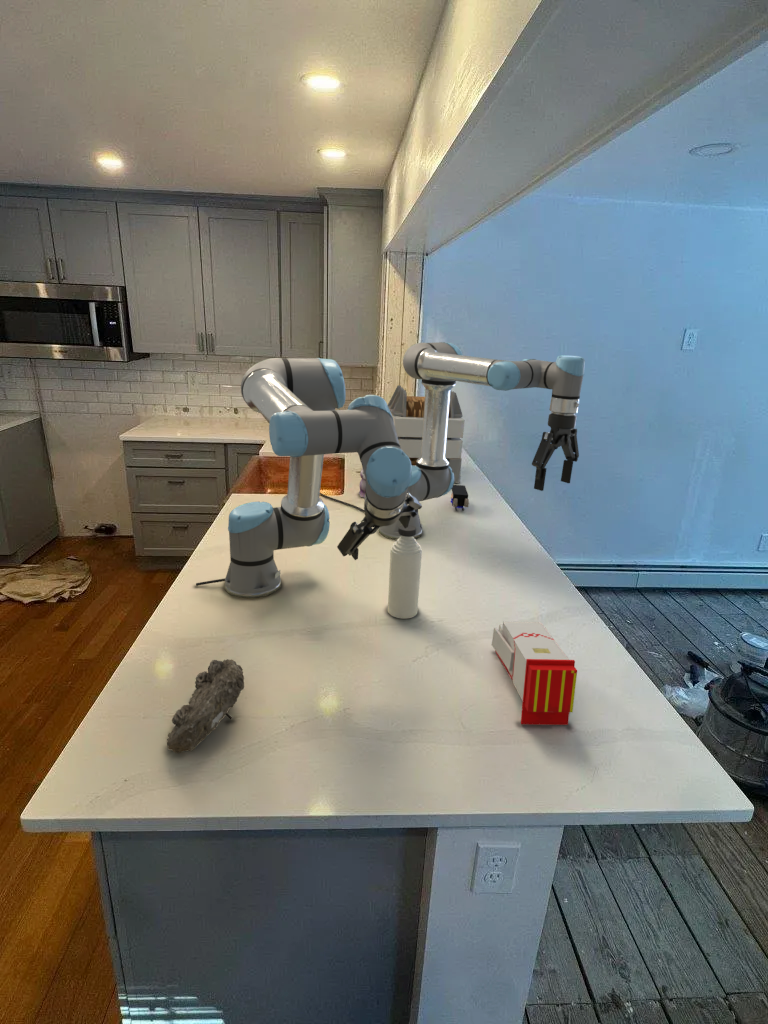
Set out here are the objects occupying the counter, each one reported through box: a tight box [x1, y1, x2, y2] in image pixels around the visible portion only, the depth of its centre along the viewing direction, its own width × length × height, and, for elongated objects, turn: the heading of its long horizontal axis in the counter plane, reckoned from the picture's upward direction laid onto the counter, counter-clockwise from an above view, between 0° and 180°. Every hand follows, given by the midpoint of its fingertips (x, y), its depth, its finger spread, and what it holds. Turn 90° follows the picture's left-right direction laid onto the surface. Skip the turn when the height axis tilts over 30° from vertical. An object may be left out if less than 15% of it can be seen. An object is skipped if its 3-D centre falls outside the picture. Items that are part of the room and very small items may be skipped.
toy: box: [491, 621, 578, 726], centre depth 121 cm, size 12×13×30 cm
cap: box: [398, 525, 416, 537], centre depth 141 cm, size 4×4×2 cm
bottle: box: [387, 536, 423, 620], centre depth 145 cm, size 8×8×23 cm
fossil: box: [166, 658, 245, 754], centre depth 106 cm, size 22×10×15 cm
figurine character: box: [449, 484, 470, 512], centre depth 229 cm, size 7×8×15 cm
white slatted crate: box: [387, 384, 465, 484], centre depth 268 cm, size 34×33×41 cm
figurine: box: [358, 467, 366, 499], centre depth 237 cm, size 9×10×15 cm
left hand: (378, 538), depth 127 cm, fingers open, 13 cm apart
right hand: (552, 485), depth 166 cm, fingers open, 13 cm apart
